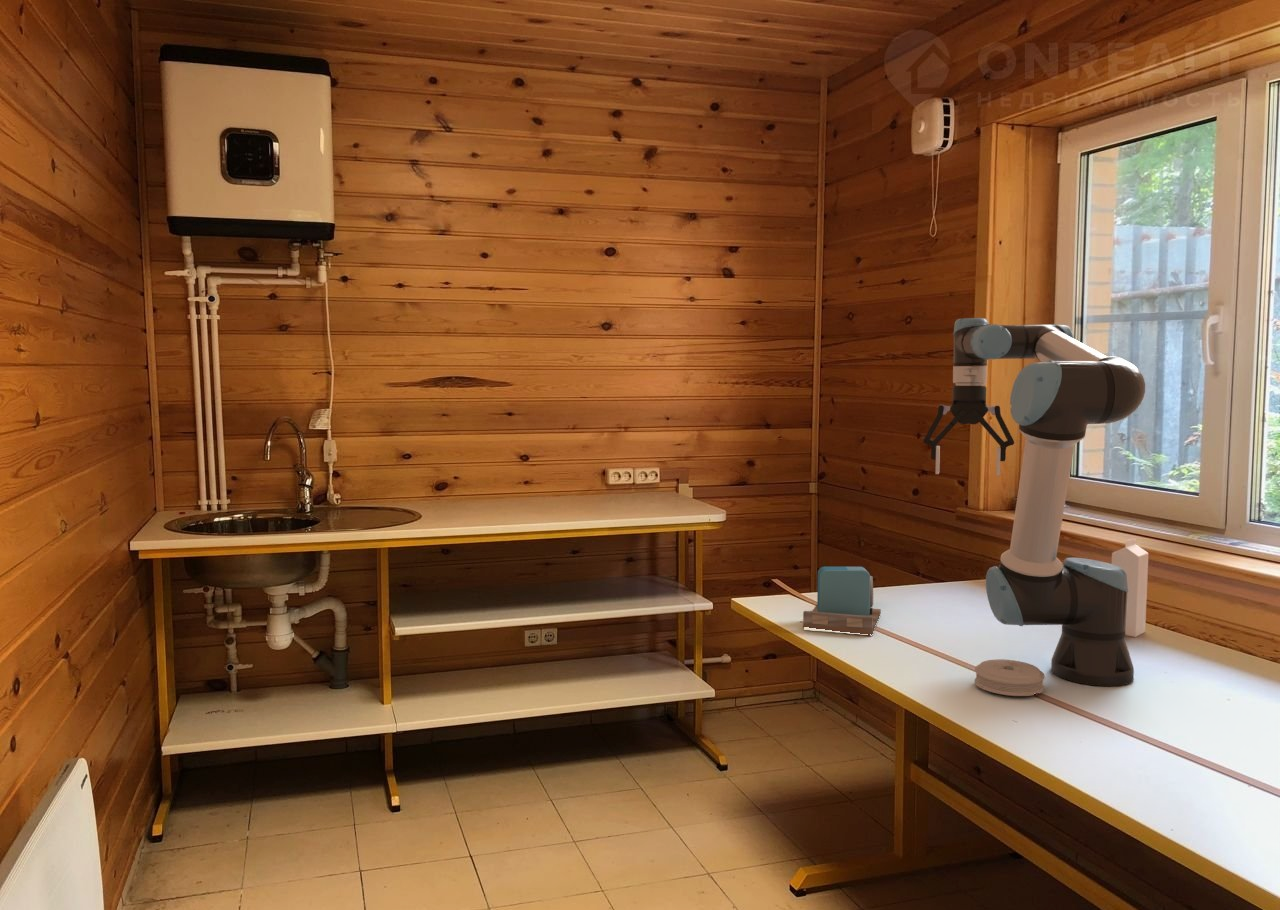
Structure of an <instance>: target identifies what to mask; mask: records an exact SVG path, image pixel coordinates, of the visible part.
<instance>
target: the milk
mask: <svg viewBox="0 0 1280 910" xmlns="http://www.w3.org/2000/svg"><path fill="white" fill-rule="evenodd" d="M1136 543H1137V539H1136V537H1134V538H1130V539H1127V540H1125V545H1124V547H1123V548H1121V549H1118V550H1115V551H1113V552H1111V564H1113V565H1116V566H1118V567H1120V568H1122V569H1123V570H1124V571H1125V572H1126V574H1127V584H1128V592H1127V611H1126V631H1125V636H1127V637H1132V638H1133V637H1134V638H1136V637H1139V636H1140V635H1143V634H1144V633H1146V621H1147V601H1148V600H1147V596H1148V595H1147V594H1148V574H1149V572H1148V571H1149V552H1148V551H1146V550H1145V549H1144V548H1142V547H1140V545H1137V544H1136Z"/></svg>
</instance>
